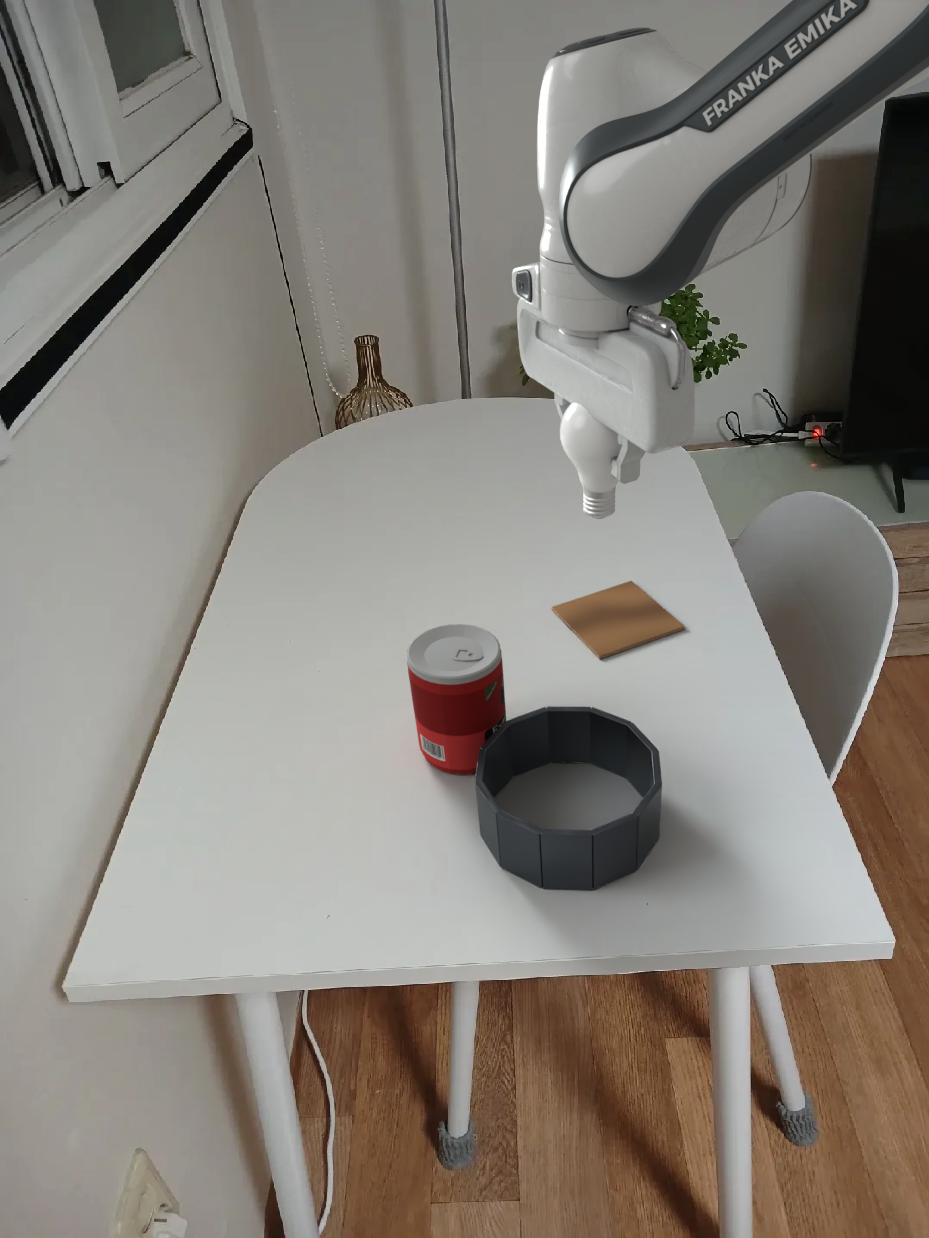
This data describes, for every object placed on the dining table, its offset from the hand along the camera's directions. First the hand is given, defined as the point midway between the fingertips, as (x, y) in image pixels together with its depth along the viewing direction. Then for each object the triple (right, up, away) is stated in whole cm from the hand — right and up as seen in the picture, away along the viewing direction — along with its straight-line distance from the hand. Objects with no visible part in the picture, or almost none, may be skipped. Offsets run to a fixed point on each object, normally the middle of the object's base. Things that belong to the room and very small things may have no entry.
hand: (599, 460), depth 78 cm
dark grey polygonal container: (-3, -29, 0) cm, 29 cm away
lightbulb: (0, -4, +3) cm, 5 cm away
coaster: (+5, -13, +22) cm, 26 cm away
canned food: (-11, -25, +8) cm, 28 cm away
